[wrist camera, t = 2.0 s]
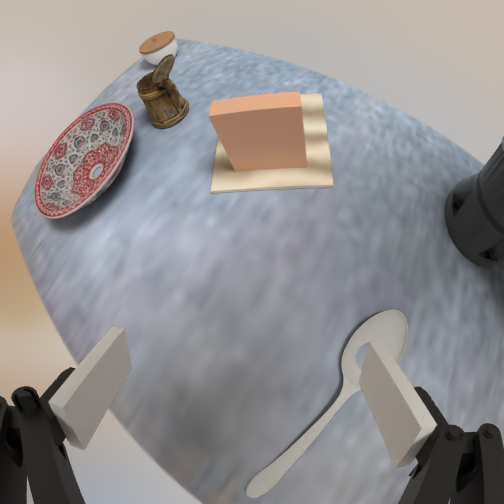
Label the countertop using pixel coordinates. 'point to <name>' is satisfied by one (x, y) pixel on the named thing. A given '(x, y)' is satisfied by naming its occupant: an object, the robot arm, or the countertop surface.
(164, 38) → the lidded jar
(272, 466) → the spoon
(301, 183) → the cream cloth
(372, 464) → the countertop surface
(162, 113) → the wooden mug
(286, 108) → the ceramic tile
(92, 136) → the ceramic bowl
